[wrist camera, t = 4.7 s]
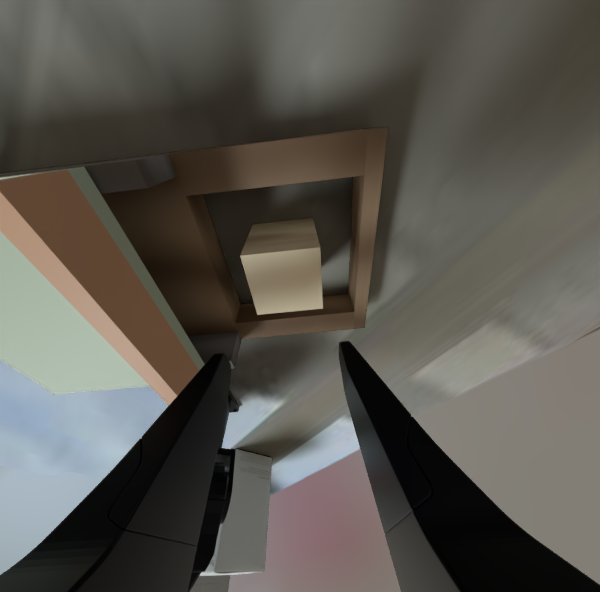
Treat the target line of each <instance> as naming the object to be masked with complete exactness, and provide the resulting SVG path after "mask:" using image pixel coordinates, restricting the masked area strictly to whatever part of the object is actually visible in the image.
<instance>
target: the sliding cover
mask: <svg viewBox="0 0 600 592" xmlns="http://www.w3.org/2000/svg"><path fill="white" fill-rule="evenodd" d="M0 360H2V361H3V362H5V363H7V364H8V365H10V366H11V367H13V368H14V369H16V370H17V371H19V372H20V373H22V374H23V375H25V376H26V377H28V378H30V379H31V380H33V381H34V382H36V383H37V384H39V385H40V386H42V387H43V388H45V389H46V390H48V391H50V392H51V393H53V394H54V395H55V394H66V393H77V392H89V391H100V390H111V389H123V388H134V387H145V386H150V387H151V388H152V389H153V390H154V391H155V392H156V393H157V394H158V395H159V396H160V397H161V398H162V399H163V400H164V401H165V402H166V403H167V404H168V405H170V404H171V403H172V402H173V400H174V399H175V398H176V397H177V396H178V395H179V393H180V392H181V391H182V390H183V389H184V388H185V387H186V385H187V384H188V383H189V382H190V381H191V380H192V379H193V377H194V376H195V375H196V374H197V373H198V372H199V370H200V369H201V368H202V367H203V366H204V365H205V364H204V362H203V361H202V359H201V357H200V356H199V354H198V352H197V351H196V349H195V347H194V346H193V344H192V343H191V341H190V339H189V338H188V336H187V334H186V333H185V331H184V329H183V328H182V326H181V325H180V323H179V321H178V320H177V318H176V316H175V315H174V313H173V311H172V310H171V308H170V307H169V305H168V303H167V302H166V300H165V298H164V297H163V295H162V293H161V292H160V290H159V289H158V287H157V285H156V284H155V282H154V280H153V279H152V277H151V275H150V274H149V272H148V271H147V269H146V267H145V266H144V264H143V262H142V261H141V259H140V257H139V256H138V254H137V252H136V251H135V249H134V248H133V246H132V244H131V243H130V241H129V239H128V238H127V236H126V234H125V233H124V231H123V230H122V228H121V226H120V225H119V223H118V221H117V220H116V218H115V216H114V215H113V213H112V212H111V210H110V208H109V207H108V205H107V203H106V202H105V200H104V198H103V197H102V195H101V194H100V192H99V190H98V189H97V187H96V185H95V184H94V182H93V180H92V179H91V177H90V176H89V174H88V172H87V171H86V169H85V167H77V168H69V169H61V170H53V171H45V172H37V173H28V174H20V175H12V176H4V177H0Z"/></svg>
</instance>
